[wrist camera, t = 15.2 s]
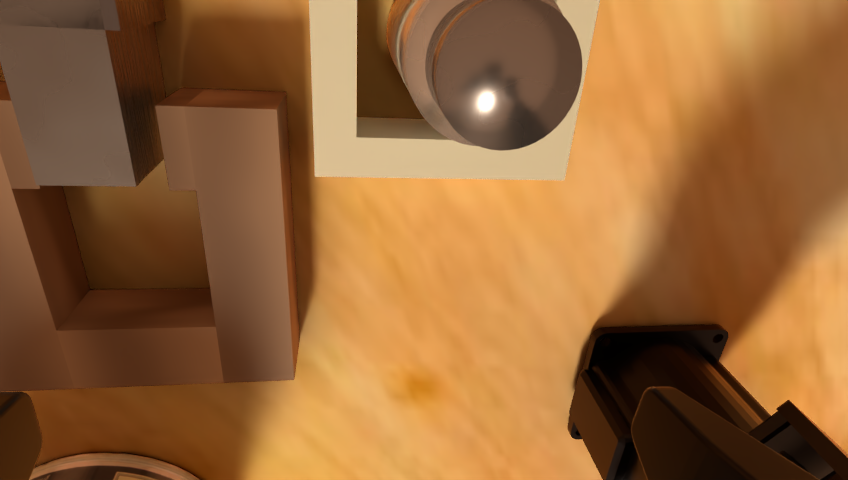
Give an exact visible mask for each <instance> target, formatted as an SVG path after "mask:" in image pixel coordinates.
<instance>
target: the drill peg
mask: <svg viewBox="0 0 848 480" xmlns="http://www.w3.org/2000/svg"><path fill="white" fill-rule="evenodd" d="M386 35H387V45H388V49H389V53H390V55H391V58H392V60H393V62H394V64H395V66H396V68H397V70H398V72H399V74H400V76H401V78H402V80H403V82H404V84H405V85H406V87H407V89H408V91H409V93H410V95H411V97H412V99H413V101H414V103H415V105H416V107H417V108H418V110H419V112H420V113H421V115H422V116H423V117H424V119H425V120H426V121H427V122H428V123H429V124H430V125H431V126H432V127H433V128H434V129H435V130H436V131H438V132H439V133H440V134H442V135H443V136H445V137H447V138H449V139H451V140H453V141H456V142H458V143H461V144H466V145H470V146H480V147H482V148H486V149H490V150H499V151H504V150H514V149H519V148H523V147H526V146H529V145H531V144H533V143H535V142H537V141H539V140H541V139H542V138H544V137H545V136H547V135H548V134H549V133H551V132H552V131H553V130H554V129H555V128H556V127H557V126H558V125H559V124H560V123H561V122H562V120H563V119H564V118H565V117H566V115H567V114H568V112H569V111H570V109H571V107H572V105H573V103H574V101H575V99H576V96H577V94H578V91H579V87H580V83H581V77H582V54H581V49H580V44H579V41H578V39H577V36H576V33H575V32H574V30H573V28H572V26H571V25H570V23H569V22H568V21H567V19H566V18H565V17H564V16H563V14H562V12H561V10H560V9H559V7H558V5H557V4H556V2H555V1H554V0H395V2H394V4H393V6H392V8H391V10H390V13H389V17H388V21H387V30H386Z"/></svg>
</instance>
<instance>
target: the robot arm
mask: <svg viewBox="0 0 848 480" xmlns="http://www.w3.org/2000/svg"><path fill="white" fill-rule="evenodd" d="M603 338H606V339H604V340H603V341H601V340H602V339H603ZM727 339H728V332H727V331H726V330H725V329H724V328H723V327H722V326H720V325H717V324H711V325H675V326H640V327H605V328H599V329H597V330H596V331H595V332H593V334H592V336H591V338H590V342H589V346H588V350H587V354H586V358H585V361H584V365H583V369H582V371H581V372H580V374H579V376H578V380H577V384H576V388H575V392H574V396H573V400H572V404H571V408H570V415H571V416H570V419H569V423H568V431H569V433H570V435H571V437H572V438H574V439H583V441H584V443H585V445H586V447H587V449H588V451H589V453H590V455H591V457H592V459H593V461H594V463H595V465H596V467H597V469H598V471H599V473H600V475H601V477H602V479H603V480H848V454H847V453H846V452H845V451H844V450H843V449H842V448H841V447H840V446H838V445H837V444H836V443H835V442H834V441H833V440H832V439H831V438H830V437H829V436H828V435H827V434H825V433H824V432H823V431H822V430H821V429H820V428H819V427H818V426H817V425H816V424H815V423H813V422H812V421H811V420H810V419H809V418H808V417H807V416H806V415H805V414H804V413H803V412H802V411H800V410H799V409H798V408H797V407H796V406H795V405H794V404H793V403H792V402H791V401H790V400H787V401H786V402H785V403H783V404H782V405H781V406H779V407H778V408H777V410H778V411H777V412H776V413H775V414H773V415H772V416H771V415H770V414H769V413H768V412H767V411H766V410H765V409H764V408H763V407H762V406H761V405H760V404H759V403H758V402H757V401H756V400H755V399H754V398H753V397H752V395H751V394H750V393H749V392H748V391H747V390H746V389H745V388H744V387H743V386H742V385H741V384H740V383H739V382H738V381H737V380H736V379H735V378H734V377H733V376H732V375H731V374H730V372H729V371H728V370H727V369H726V368H725V367H724V366H723V365H722V364H721V363H720V362H719V359H720V356H721V354H722V351H723V349H724V346H725V344H726V341H727ZM41 448H42V433H41V430H40V427H39V423H38V420H37V417H36V413H35V410H34V407H33V404H32V400H31V398H30V397H29V396H28V395H27V394H26V393H23V392H0V480H29V479H30V477H31V474H32V472H33V469H34V467H35V465H36V462H37V460H38V457H39V455H40V452H41Z"/></svg>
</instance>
